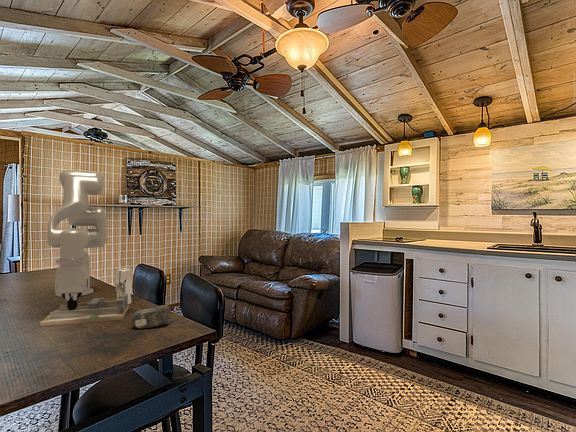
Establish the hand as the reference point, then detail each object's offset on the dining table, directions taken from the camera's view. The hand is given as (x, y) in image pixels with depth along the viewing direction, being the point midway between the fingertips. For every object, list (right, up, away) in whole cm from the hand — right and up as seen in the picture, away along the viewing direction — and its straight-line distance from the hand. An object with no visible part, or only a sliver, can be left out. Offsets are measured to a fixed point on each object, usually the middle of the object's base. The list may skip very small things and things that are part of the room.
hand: (72, 309), depth 126 cm
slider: (+9, -1, 0) cm, 9 cm away
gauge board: (+5, -3, +1) cm, 6 cm away
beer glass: (+10, -3, +19) cm, 22 cm away
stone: (+34, -4, -8) cm, 35 cm away
